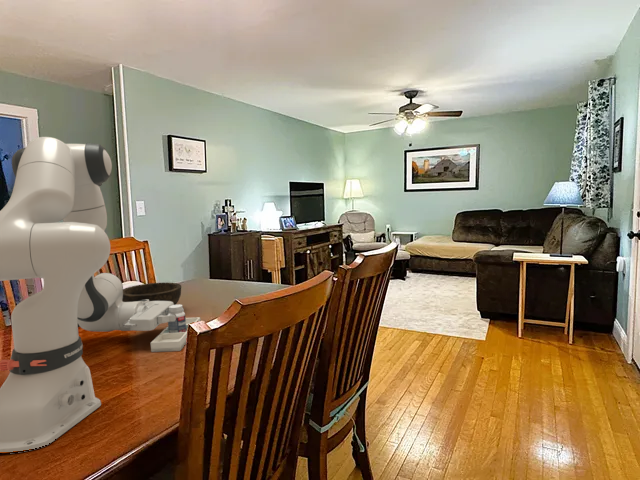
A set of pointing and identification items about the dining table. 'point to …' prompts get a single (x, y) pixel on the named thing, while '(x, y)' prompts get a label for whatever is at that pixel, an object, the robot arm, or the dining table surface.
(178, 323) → the pill bottle
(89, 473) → the dining table surface
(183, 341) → the white plastic tray
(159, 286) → the bowl
